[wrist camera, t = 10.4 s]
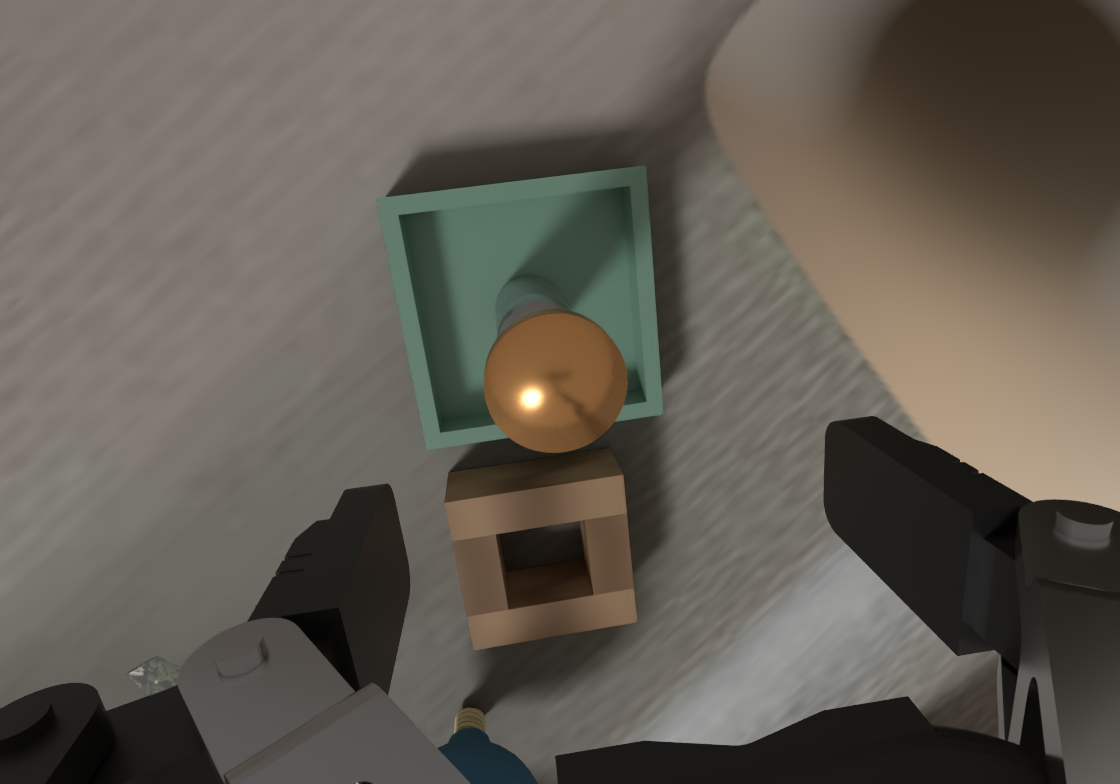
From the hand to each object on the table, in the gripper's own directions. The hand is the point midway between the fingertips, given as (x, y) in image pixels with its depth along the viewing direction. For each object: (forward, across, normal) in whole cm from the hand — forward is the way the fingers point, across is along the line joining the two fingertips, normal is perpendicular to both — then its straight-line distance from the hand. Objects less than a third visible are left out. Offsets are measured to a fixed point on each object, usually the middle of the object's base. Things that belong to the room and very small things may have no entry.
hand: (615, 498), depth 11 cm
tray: (+22, +1, 0) cm, 22 cm away
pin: (+21, 0, 0) cm, 21 cm away
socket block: (+22, +2, +13) cm, 25 cm away
